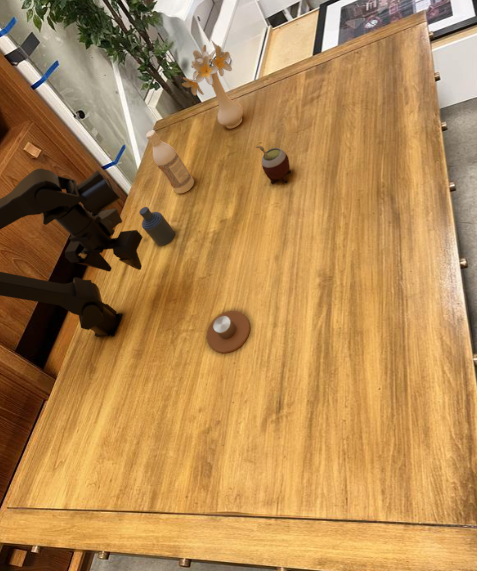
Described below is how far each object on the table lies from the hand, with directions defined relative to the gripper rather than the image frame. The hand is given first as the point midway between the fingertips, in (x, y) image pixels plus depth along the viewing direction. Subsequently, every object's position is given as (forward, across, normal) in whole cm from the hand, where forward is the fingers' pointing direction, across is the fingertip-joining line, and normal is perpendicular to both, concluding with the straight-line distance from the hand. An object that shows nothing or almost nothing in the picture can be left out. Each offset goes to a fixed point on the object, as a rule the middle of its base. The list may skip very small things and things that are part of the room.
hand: (125, 269), depth 92 cm
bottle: (+12, +4, -20) cm, 24 cm away
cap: (+11, -25, +10) cm, 29 cm away
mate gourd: (+12, -28, -38) cm, 48 cm away
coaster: (+12, -25, +10) cm, 29 cm away
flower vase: (+12, -5, -70) cm, 71 cm away
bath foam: (+12, +5, -42) cm, 43 cm away
